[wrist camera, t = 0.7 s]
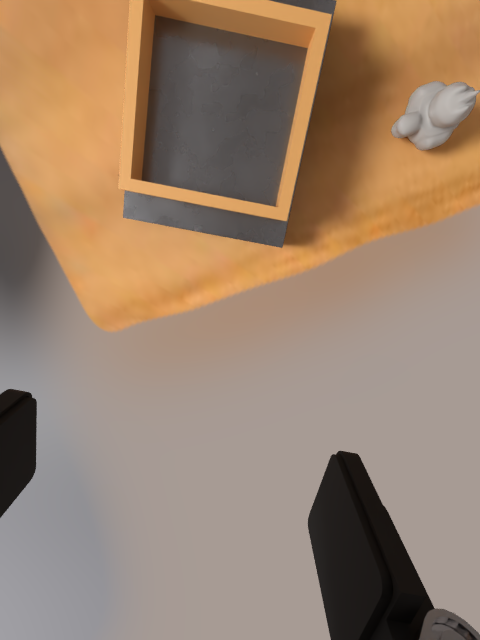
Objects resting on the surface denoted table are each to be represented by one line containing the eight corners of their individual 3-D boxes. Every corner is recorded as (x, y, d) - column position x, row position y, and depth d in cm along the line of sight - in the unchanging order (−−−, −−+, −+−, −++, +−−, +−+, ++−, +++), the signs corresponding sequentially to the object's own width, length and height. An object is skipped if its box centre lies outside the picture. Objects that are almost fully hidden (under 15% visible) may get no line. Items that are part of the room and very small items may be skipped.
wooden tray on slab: (154, -9, 29) (127, -77, 22) (324, 28, 30) (347, -27, 23) (136, 217, 35) (110, 217, 28) (278, 244, 36) (286, 250, 29)
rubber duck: (452, 141, 32) (516, 117, 25) (387, 164, 33) (430, 148, 25) (444, 82, 31) (510, 36, 23) (377, 107, 32) (419, 72, 24)
